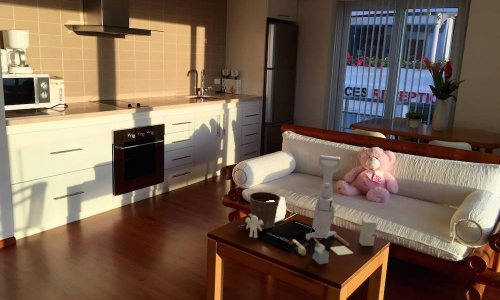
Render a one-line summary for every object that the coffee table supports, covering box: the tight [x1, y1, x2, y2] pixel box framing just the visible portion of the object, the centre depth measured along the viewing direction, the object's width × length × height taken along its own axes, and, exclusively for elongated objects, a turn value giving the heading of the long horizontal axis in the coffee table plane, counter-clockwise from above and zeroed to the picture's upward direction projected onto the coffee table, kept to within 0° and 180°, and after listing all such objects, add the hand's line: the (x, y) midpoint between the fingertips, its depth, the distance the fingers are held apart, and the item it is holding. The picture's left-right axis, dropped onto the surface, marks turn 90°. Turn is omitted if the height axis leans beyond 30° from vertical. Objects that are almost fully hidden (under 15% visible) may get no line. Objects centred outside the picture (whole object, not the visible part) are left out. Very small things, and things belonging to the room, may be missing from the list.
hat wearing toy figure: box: [245, 213, 263, 239], centre depth 219 cm, size 9×4×12 cm, turn 74°
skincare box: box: [358, 219, 377, 247], centre depth 219 cm, size 6×4×12 cm
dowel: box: [335, 234, 350, 247], centre depth 220 cm, size 12×2×2 cm, turn 21°
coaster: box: [330, 245, 354, 256], centre depth 210 cm, size 8×8×1 cm
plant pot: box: [248, 191, 281, 230], centre depth 233 cm, size 16×16×16 cm
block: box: [312, 247, 330, 265], centre depth 199 cm, size 6×4×5 cm
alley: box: [291, 238, 325, 256], centre depth 210 cm, size 11×12×3 cm
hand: (319, 252), depth 200 cm, fingers open, 7 cm apart
